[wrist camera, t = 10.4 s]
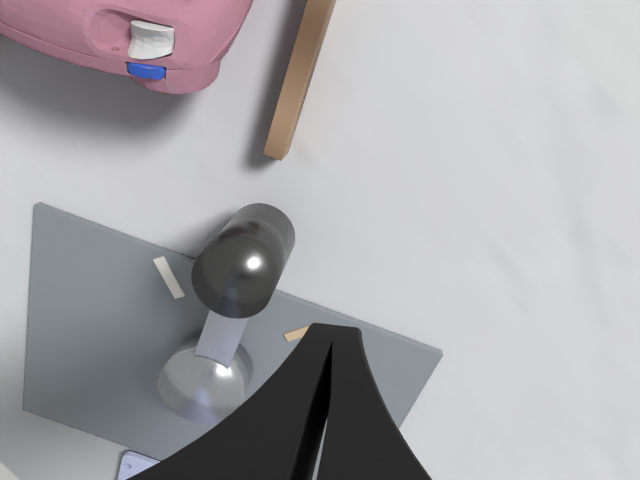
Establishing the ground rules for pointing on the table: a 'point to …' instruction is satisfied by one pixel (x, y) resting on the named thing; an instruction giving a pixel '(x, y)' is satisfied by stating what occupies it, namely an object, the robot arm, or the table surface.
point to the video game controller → (131, 36)
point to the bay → (298, 76)
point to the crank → (227, 314)
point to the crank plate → (158, 336)
